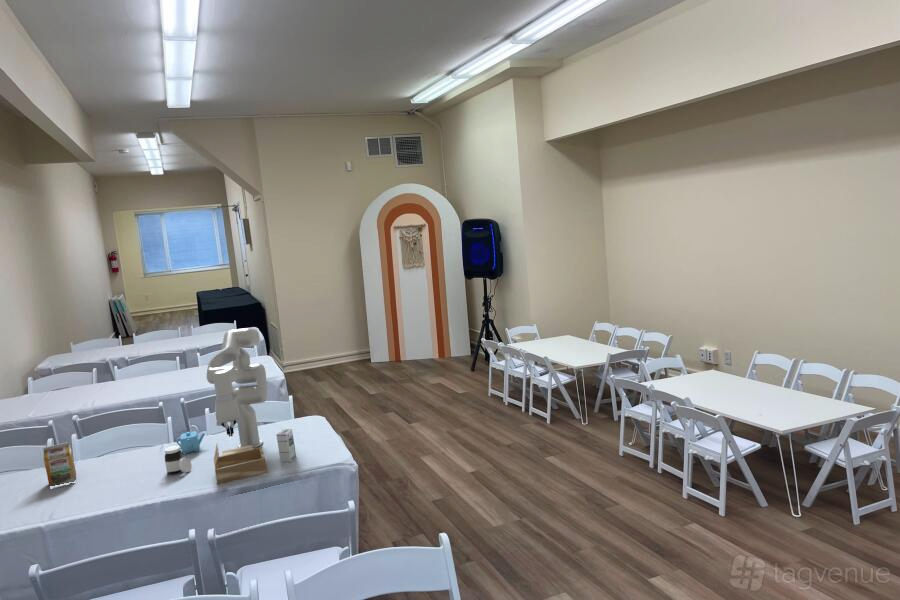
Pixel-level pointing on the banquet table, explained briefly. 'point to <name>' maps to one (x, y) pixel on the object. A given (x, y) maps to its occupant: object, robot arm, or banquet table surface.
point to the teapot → (190, 442)
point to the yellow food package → (59, 464)
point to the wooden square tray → (240, 464)
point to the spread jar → (176, 460)
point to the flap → (216, 455)
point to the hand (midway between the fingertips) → (230, 435)
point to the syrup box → (286, 445)
